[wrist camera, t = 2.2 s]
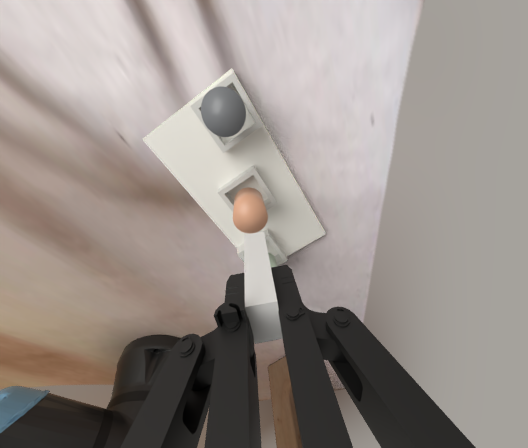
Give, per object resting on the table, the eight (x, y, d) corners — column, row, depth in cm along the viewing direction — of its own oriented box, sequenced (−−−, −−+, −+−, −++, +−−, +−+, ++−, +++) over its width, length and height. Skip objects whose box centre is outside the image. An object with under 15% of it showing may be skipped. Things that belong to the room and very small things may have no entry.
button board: (257, 268, 36) (259, 281, 33) (146, 138, 25) (134, 140, 22) (323, 230, 33) (331, 240, 31) (232, 70, 23) (231, 63, 20)
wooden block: (296, 348, 47) (326, 465, 31) (307, 355, 49) (340, 470, 33) (267, 366, 49) (279, 485, 33) (278, 372, 51) (296, 488, 35)
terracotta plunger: (245, 219, 26) (245, 239, 22) (228, 197, 25) (225, 214, 20) (268, 204, 26) (274, 221, 21) (252, 181, 24) (255, 194, 20)
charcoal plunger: (224, 141, 22) (219, 145, 18) (202, 108, 20) (191, 104, 16) (251, 121, 21) (254, 120, 17) (231, 86, 20) (228, 75, 15)
